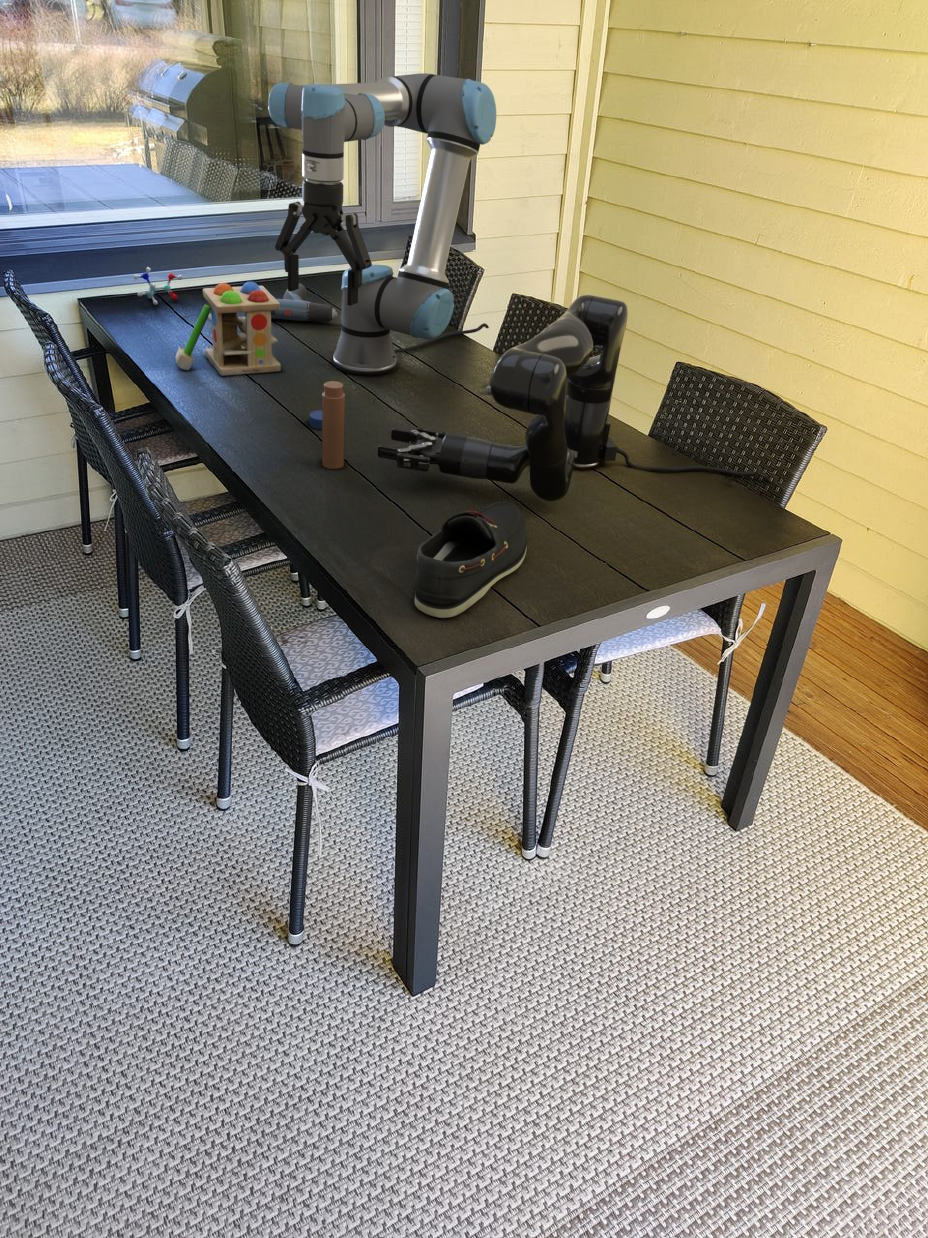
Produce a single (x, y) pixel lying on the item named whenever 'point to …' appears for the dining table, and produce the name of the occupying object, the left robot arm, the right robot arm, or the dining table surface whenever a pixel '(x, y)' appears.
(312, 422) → the lid
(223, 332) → the pounding bench toy
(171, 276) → the molecular model
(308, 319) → the power drill
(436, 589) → the boat shoe
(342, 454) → the jar
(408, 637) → the dining table surface
